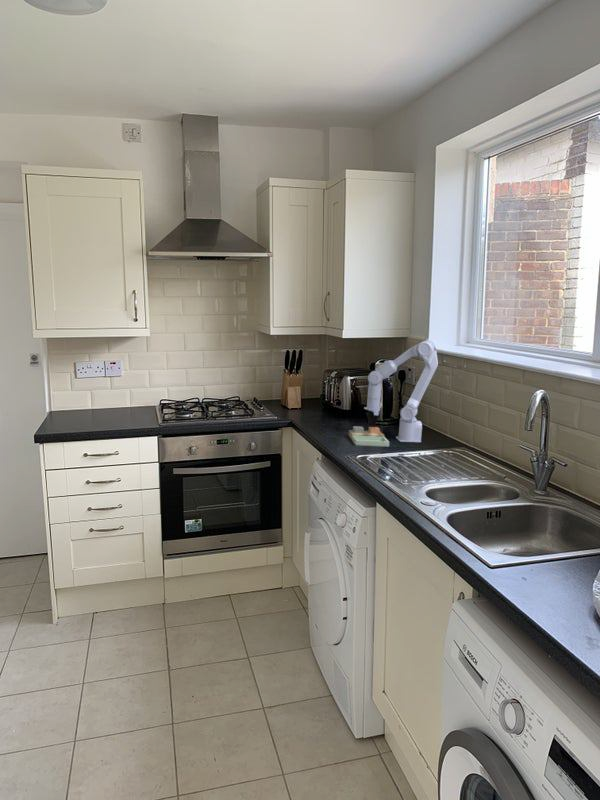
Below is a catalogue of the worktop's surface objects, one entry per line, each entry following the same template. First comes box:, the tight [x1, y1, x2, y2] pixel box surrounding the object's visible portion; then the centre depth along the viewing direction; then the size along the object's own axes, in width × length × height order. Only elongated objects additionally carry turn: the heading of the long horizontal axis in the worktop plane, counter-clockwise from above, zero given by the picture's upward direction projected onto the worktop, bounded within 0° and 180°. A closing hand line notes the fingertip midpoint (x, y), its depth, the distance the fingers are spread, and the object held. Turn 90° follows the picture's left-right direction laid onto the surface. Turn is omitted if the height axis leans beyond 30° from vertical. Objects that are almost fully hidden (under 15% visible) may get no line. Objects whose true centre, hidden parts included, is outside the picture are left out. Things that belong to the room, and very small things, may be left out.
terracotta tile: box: [368, 426, 381, 434], centre depth 265 cm, size 4×4×2 cm
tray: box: [351, 436, 390, 447], centre depth 255 cm, size 14×9×2 cm, turn 95°
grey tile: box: [352, 425, 365, 433], centre depth 264 cm, size 4×4×2 cm
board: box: [348, 429, 385, 441], centre depth 264 cm, size 14×8×2 cm, turn 95°
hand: (371, 428), depth 270 cm, fingers closed
